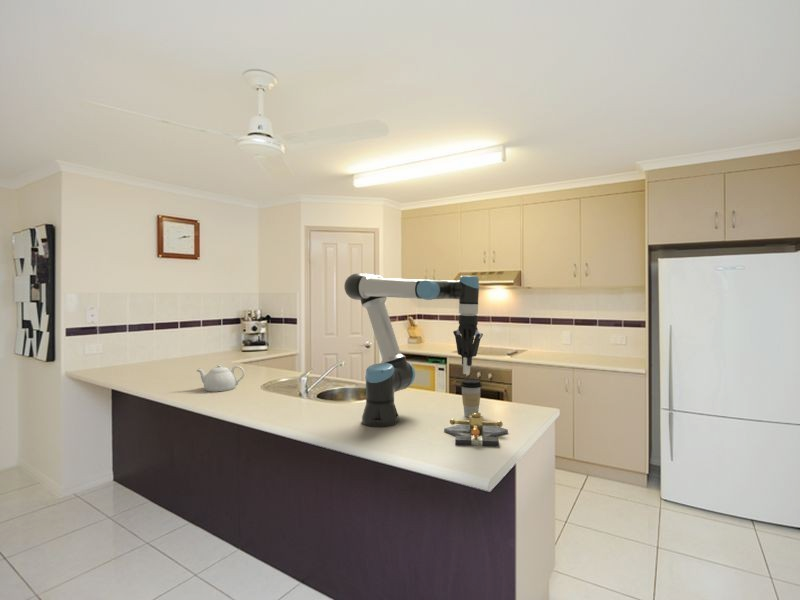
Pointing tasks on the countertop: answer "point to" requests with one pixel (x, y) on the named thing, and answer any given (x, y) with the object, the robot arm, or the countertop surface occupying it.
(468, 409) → the coffee cup
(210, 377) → the teapot
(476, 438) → the stand
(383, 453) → the countertop surface
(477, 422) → the handle
